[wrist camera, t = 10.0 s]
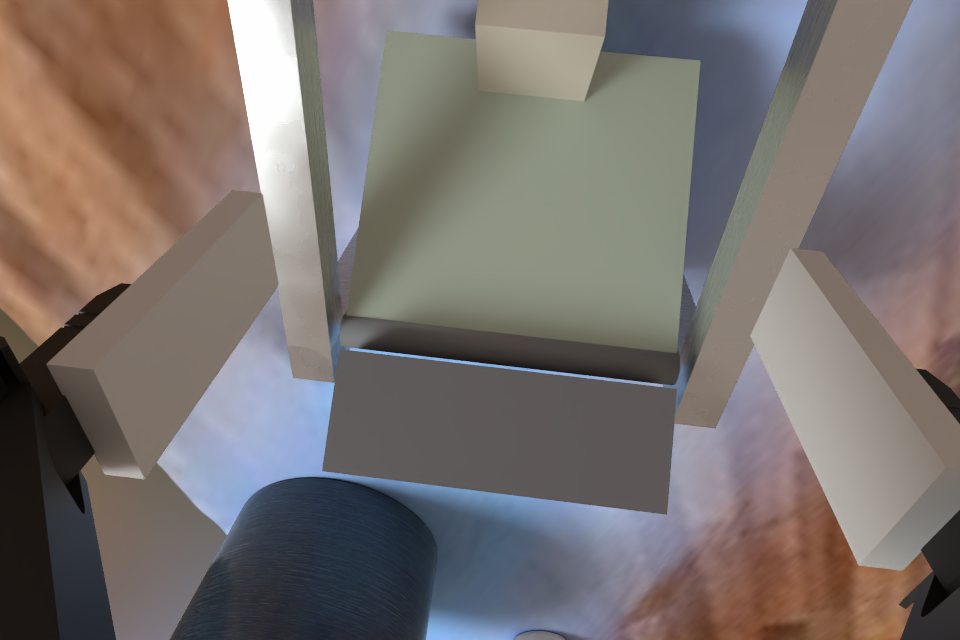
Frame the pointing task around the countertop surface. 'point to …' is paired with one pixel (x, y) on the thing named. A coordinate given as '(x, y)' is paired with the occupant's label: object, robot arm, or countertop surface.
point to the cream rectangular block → (539, 46)
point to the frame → (728, 288)
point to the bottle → (538, 636)
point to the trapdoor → (518, 280)
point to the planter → (317, 569)
